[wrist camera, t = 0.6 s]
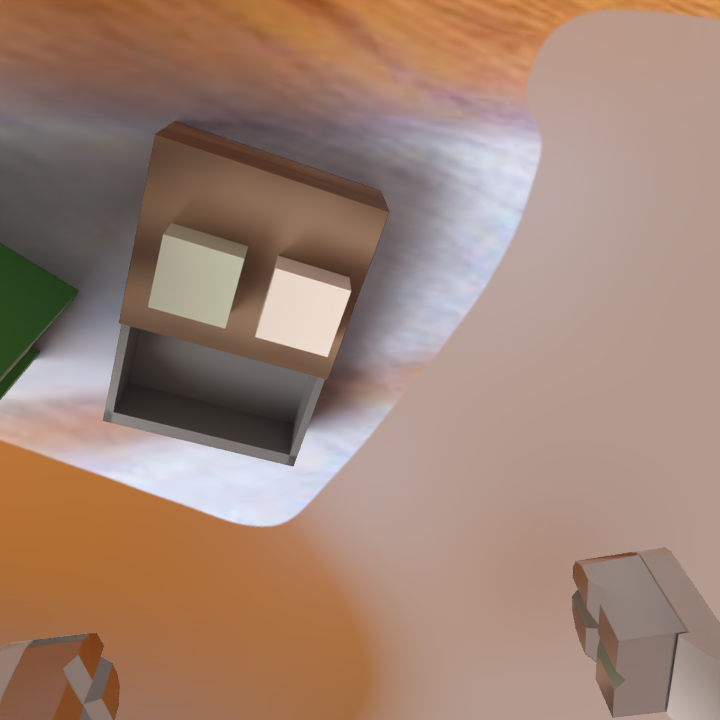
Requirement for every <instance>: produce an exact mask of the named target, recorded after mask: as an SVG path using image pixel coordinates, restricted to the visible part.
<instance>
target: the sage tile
mask: <svg viewBox="0 0 720 720" xmlns="http://www.w3.org/2000/svg"><path fill="white" fill-rule="evenodd" d="M247 250H248V246H245V245H242V244H239V243H236V242H232V241H229V240H226V239H223V238H219V237H216V236H213V235H210V234H206V233H203V232H200V231H197V230H193V229H190V228H187V227H184V226H180V225H177V224H174V223H171V224H170V226H169V227H168V228H167V230H166V231H165V232H164V234H163V238H162V242H161V247H160V252H159V257H158V261H157V266H156V271H155V276H154V280H153V285H152V290H151V295H150V299H149V304H148V307H149V308H153V309H157V310H160V311H164V312H167V313H171V314H174V315H178V316H182V317H185V318H189V319H192V320H196V321H200V322H203V323H207V324H210V325H214V326H218V327H221V328H226V325H227V321H228V318H229V315H230V311H231V308H232V304H233V301H234V297H235V293H236V290H237V286H238V282H239V279H240V275H241V271H242V268H243V264H244V260H245V257H246V253H247Z"/></svg>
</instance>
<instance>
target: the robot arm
mask: <svg viewBox="0 0 720 720" xmlns="http://www.w3.org/2000/svg"><path fill="white" fill-rule="evenodd" d="M573 579H574V582H575V584H576V586H577V588H578V590H577V591H576V592H575V594H574V595H573V596H572V611H573V617H574V623H575V628H576V631H577V634H578V637H579V640H580V643H581V645H582V648H583V650H584V653H585V654H586V655H587V656H588V657H590V658H591V659H592V660H594V661H595V662H596V681H597V683H598V685H599V688H600V690H601V692H602V695H603V697H604V699H605V701H606V704H607V706H608V708H609V711H610V713H611V715H612V717H613V718H614V717H623V716H632V715H640V714H649V713H657V712H667V715H668V716H669V717H670V718H671V719H672V720H720V623H719V621H718V619H717V618H716V617H715V615H714V614H713V612H712V611H711V609H710V608H709V606H708V605H707V604H706V602H705V600H704V599H703V598H702V596H701V595H700V593H699V592H698V590H697V589H696V587H695V586H694V584H693V583H692V581H691V580H690V578H689V577H688V576H687V574H686V573H685V571H684V570H683V568H682V567H681V565H680V564H679V562H678V561H677V560H676V558H675V557H674V555H673V554H672V552H671V551H670V550H668V549H667V548H665V547H664V548H658V549H652V550H645V551H638V552H634V553H633V552H629V553H623V554H617V555H610V556H604V557H598V558H592V559H585V560H579V561H575V563H574V566H573ZM103 648H104V645H103V643H102V641H101V639H100V638H99V636H98V634H97V633H87V634H79V635H71V636H63V637H54V638H45V639H37V640H31V641H24V642H16V643H8V644H4V645H3V646H2V647H1V648H0V720H115V717H116V714H117V710H118V706H119V694H120V684H119V679H118V674H117V671H116V669H115V667H114V665H113V663H111V662H109V661H107V660H106V659H104V658H102V657H101V654H102V651H103Z"/></svg>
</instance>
